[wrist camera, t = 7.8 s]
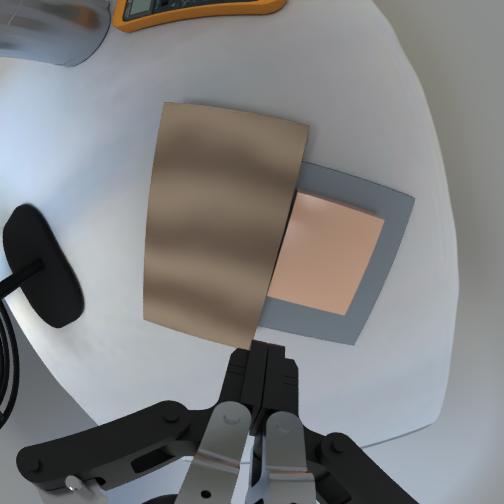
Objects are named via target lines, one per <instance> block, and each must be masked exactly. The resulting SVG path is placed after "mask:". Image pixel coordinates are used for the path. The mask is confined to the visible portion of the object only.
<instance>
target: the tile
mask: <svg viewBox="0 0 504 504" xmlns="http://www.w3.org/2000/svg"><path fill="white" fill-rule="evenodd" d="M384 221H385V220H384V219H382V218H381V217H380V216H379V215H377V214H376V213H373V212H370V211H368V210H365V209H362V208H359V207H356V206H353V205H350V204H347V203H344V202H341V201H338V200H335V199H331V198H328V197H325V196H322V195H319V194H315V193H312V192H309V191H305V190H302V189H298V188H297V189H296V193H295V196H294V200H293V203H292V207H291V210H290V214H289V217H288V221H287V224H286V227H285V231H284V234H283V238H282V241H281V244H280V248H279V251H278V254H277V258H276V261H275V265H274V269H273V272H272V276H271V279H270V283H269V287H268V290H267V296H269V297H273V298H277V299H281V300H284V301H288V302H292V303H296V304H300V305H304V306H308V307H312V308H316V309H320V310H324V311H328V312H332V313H336V314H340V315H345V314H346V312H347V310H348V308H349V305H350V303H351V301H352V299H353V297H354V295H355V292H356V290H357V288H358V286H359V284H360V281H361V279H362V277H363V274H364V272H365V270H366V267H367V265H368V262H369V260H370V258H371V255H372V253H373V250H374V248H375V245H376V242H377V240H378V237H379V235H380V232H381V229H382V226H383V224H384Z"/></svg>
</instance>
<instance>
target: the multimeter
mask: <svg viewBox="0 0 504 504" xmlns="http://www.w3.org/2000/svg"><path fill="white" fill-rule="evenodd" d="M285 2H286V0H117V4H116V8H115V11H114V16H113V20H112V25H113V26H114V27H116V28H117V29H119V30H121V31H124V32H132V31H135V30H139V29H142V28H146V27H149V26H153V25H157V24H161V23H166V22H171V21H176V20H182V19H188V18H195V17H203V16H214V15H232V14H269V13H272V12H275V11H277V10H278V9H280V8H281V7H282V6H283V5H284V4H285Z"/></svg>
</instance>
